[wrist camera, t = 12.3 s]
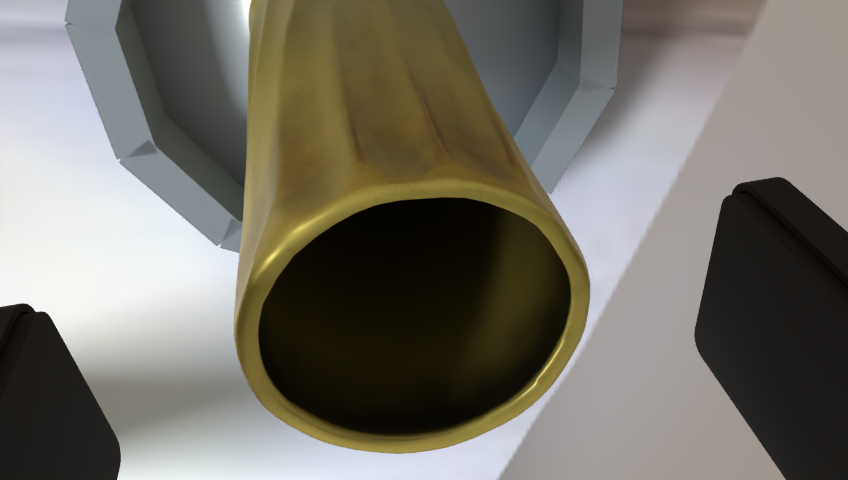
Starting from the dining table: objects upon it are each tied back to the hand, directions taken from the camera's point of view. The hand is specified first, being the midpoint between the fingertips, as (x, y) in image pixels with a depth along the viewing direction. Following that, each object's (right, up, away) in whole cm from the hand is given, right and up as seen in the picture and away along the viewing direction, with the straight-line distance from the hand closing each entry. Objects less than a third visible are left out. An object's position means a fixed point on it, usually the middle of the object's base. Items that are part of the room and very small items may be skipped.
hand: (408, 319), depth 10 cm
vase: (-2, +8, +12) cm, 14 cm away
